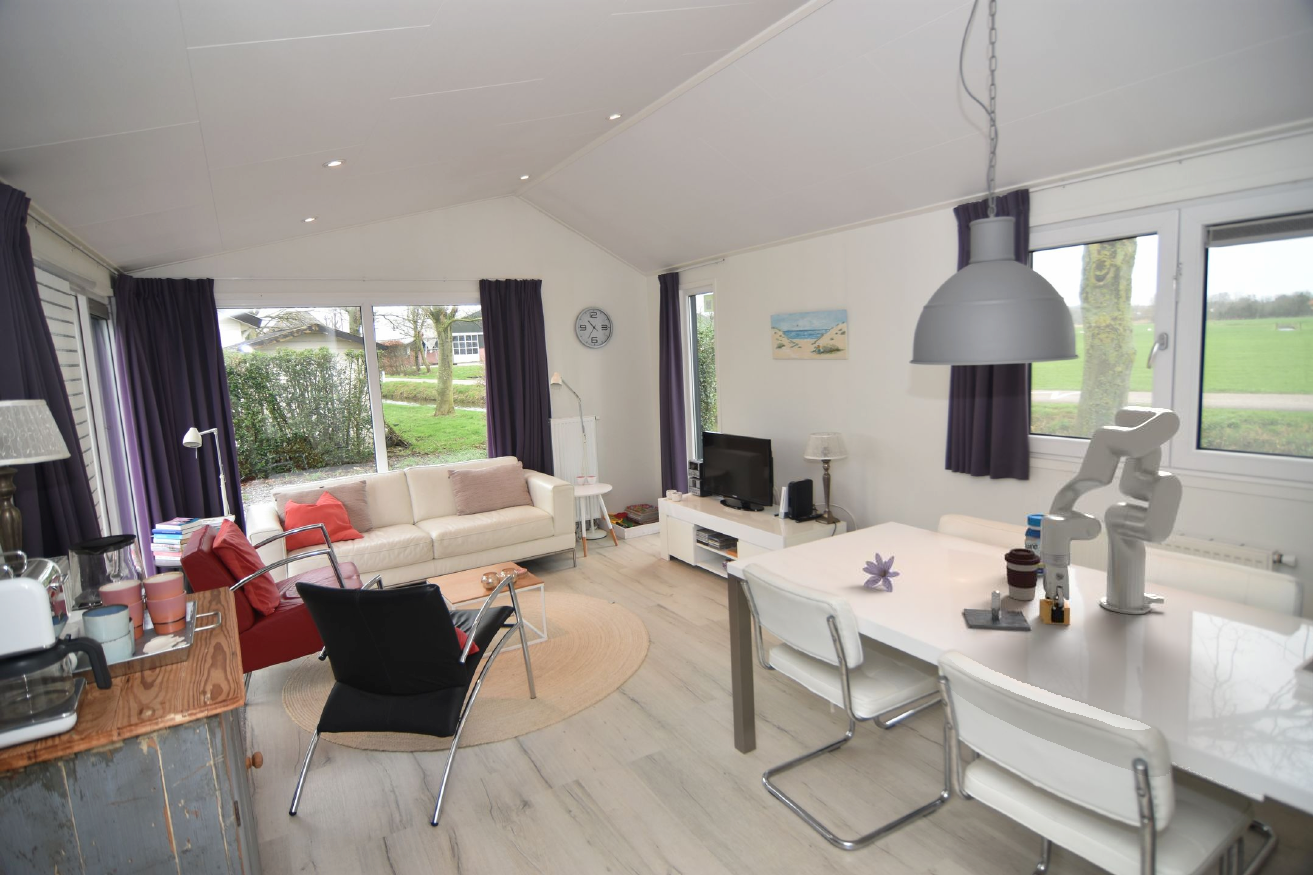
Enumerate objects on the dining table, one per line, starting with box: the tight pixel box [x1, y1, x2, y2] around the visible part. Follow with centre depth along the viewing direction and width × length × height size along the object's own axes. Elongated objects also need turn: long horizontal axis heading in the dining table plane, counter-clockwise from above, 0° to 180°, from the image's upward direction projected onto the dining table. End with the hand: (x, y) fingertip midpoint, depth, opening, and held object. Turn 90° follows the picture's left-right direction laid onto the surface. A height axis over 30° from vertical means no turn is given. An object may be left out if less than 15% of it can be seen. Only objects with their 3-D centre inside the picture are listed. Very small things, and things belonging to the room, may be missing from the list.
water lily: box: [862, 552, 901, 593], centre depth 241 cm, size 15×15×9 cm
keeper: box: [963, 590, 1032, 632], centre depth 206 cm, size 16×12×9 cm
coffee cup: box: [1004, 547, 1040, 602], centre depth 222 cm, size 10×10×15 cm
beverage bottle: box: [1024, 513, 1046, 577], centre depth 243 cm, size 8×8×20 cm
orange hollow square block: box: [1038, 598, 1071, 626], centre depth 205 cm, size 6×6×5 cm
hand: (1054, 616), depth 205 cm, fingers closed on orange hollow square block, 6 cm apart
